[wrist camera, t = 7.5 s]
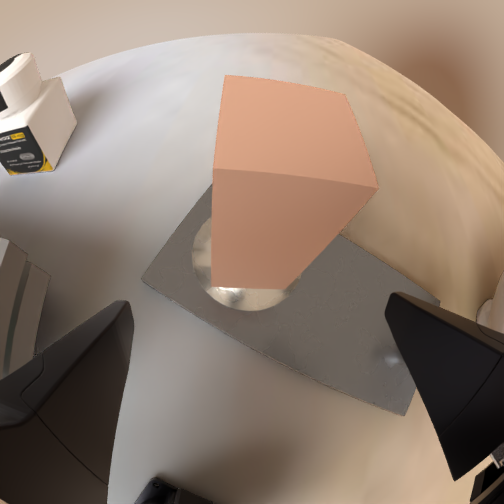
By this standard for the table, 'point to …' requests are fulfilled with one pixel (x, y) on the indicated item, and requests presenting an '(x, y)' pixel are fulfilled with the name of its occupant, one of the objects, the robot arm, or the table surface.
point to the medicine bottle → (32, 117)
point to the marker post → (282, 180)
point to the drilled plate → (300, 312)
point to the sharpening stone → (19, 306)
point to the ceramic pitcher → (493, 309)
